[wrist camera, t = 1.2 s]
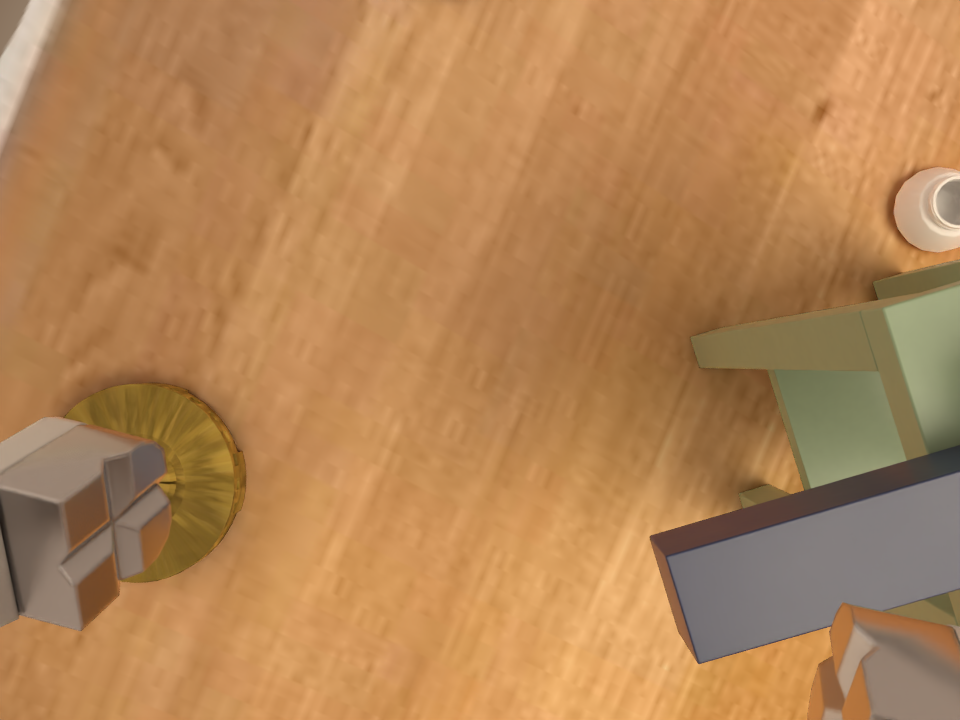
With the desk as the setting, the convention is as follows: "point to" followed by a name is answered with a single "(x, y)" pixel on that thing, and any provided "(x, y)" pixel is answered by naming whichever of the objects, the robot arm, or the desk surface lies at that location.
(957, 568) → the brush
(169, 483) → the gold round flat disc
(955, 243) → the lidless jar
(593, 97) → the desk surface
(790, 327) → the stand
